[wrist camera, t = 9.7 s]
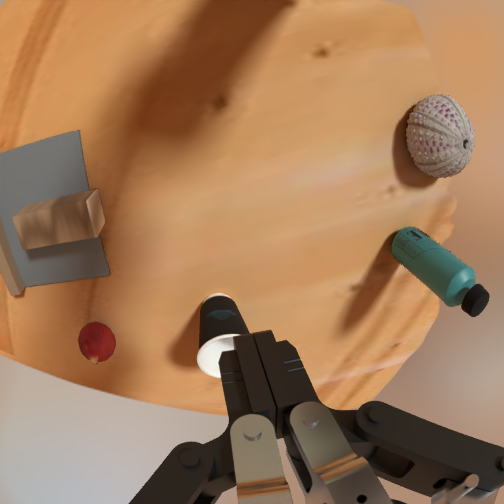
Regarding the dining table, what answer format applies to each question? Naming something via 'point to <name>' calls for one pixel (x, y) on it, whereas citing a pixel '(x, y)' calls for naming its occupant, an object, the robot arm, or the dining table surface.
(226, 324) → the dixie cup
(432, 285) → the beverage bottle
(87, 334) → the onion
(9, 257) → the grey flat slab
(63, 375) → the dining table surface
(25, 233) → the cardboard box
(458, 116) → the sea urchin shell
